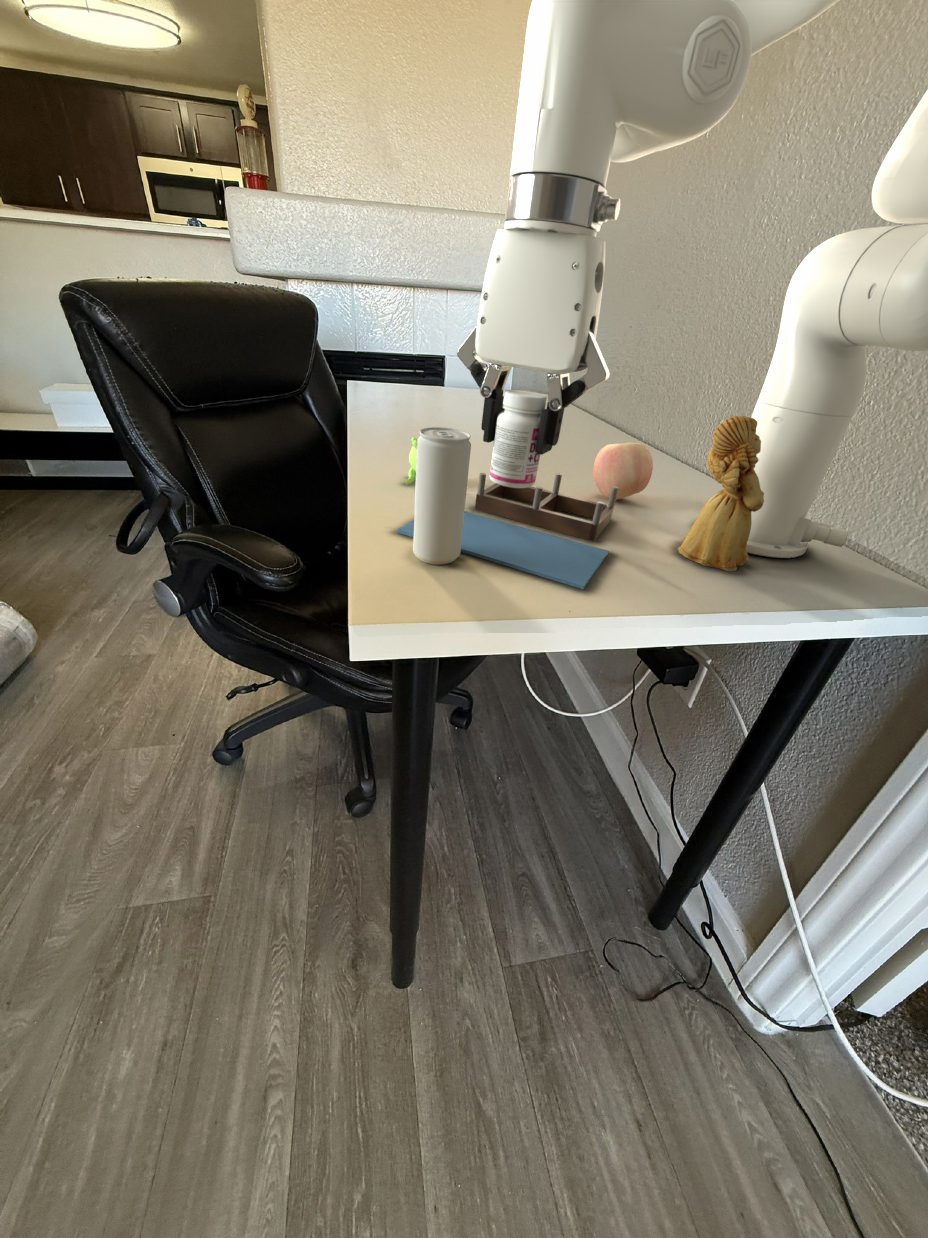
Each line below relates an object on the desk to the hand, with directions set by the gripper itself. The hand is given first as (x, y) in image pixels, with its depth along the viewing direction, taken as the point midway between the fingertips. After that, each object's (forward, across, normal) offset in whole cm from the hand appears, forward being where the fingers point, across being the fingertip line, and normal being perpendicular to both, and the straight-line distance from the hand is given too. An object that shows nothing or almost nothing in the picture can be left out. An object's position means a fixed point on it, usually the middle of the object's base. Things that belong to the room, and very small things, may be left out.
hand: (517, 443), depth 51 cm
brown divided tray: (+11, -1, -12) cm, 16 cm away
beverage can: (+11, +4, +7) cm, 14 cm away
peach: (+11, -7, -26) cm, 29 cm away
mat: (+11, 0, 0) cm, 11 cm away
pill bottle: (+4, 0, 0) cm, 4 cm away
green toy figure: (+11, +17, -14) cm, 25 cm away
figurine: (+11, -21, -13) cm, 26 cm away
